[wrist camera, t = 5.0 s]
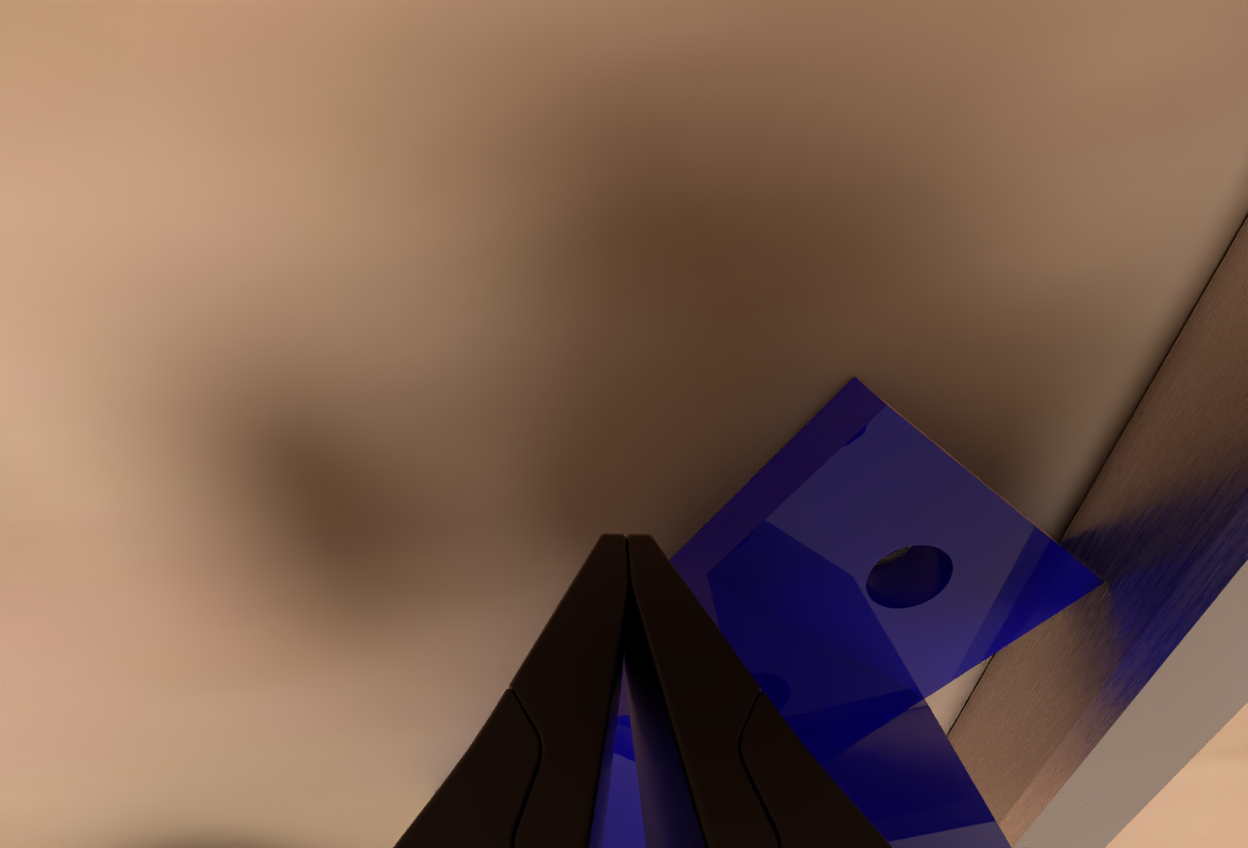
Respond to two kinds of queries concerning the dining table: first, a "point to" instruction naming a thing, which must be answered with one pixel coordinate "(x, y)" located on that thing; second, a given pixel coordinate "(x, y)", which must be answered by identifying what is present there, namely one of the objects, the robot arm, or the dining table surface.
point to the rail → (1134, 607)
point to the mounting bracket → (867, 612)
